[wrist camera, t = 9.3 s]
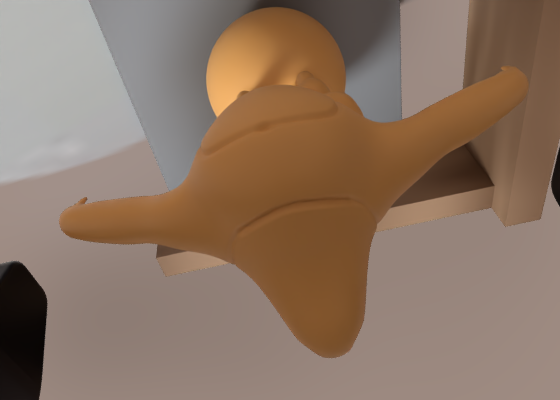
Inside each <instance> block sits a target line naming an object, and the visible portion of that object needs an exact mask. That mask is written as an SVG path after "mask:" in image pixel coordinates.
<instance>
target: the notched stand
mask: <svg viewBox="0 0 560 400" xmlns="http://www.w3.org/2000/svg"><path fill="white" fill-rule="evenodd" d="M89 2H90V5H91V7H92V9H93V12H94V14H95V16H96V19H97V21H98V24H99V26H100V28H101V31H102V33H103V35H104V38H105V40H106V42H107V45H108V47H109V50H110V52H111V54H112V57H113V59H114V61H115V64H116V66H117V69H118V71H119V73H120V76H121V78H122V80H123V83H124V85H125V87H126V90H127V92H128V95H129V97H130V99H131V102H132V104H133V106H134V109H135V111H136V114H137V116H138V118H139V121H140V123H141V125H142V128H143V130H144V132H145V135H146V137H147V140H148V142H149V144H150V147H151V149H152V151H153V154H154V156H155V159H156V161H157V163H158V165H159V168H160V170H161V173H162V175H163V177H164V180H165V182H166V184H167V187H168V189H169V191H171V190H173V189H175V188H177V187H178V186H179V185H181V184H182V183H183V182H184V180H185V179H186V177H187V176H188V174H189V171H190V169H191V166H192V163H193V161H194V158H195V155H196V153H197V151H198V149H199V148H200V147H201V142H202V140H203V138H204V136H205V134H206V133H207V131H208V129H209V128H210V127H211V125H212V124H213V122H214V121H215V120H216V119H217V116H216V115H215V113H214V111H213V109H212V106H211V104H210V101H209V97H208V92H207V85H206V73H207V66H208V61H209V57H210V54H211V52H212V49H213V47H214V45H215V43H216V41H217V40H218V38H219V37H220V35H221V34H222V33H223V32H224V30H225V29H226V28H227V27H228V26H229V25H230V24H232V23H233V22H234V21H235V20H237V19H238V18H240V17H242V16H243V15H245V14H247V13H249V12H252V11H255V10H258V9H262V8H269V7H283V8H290V9H294V10H297V11H300V12H303V13H305V14H307V15H309V16H311V17H312V18H314V19H315V20H317V21H318V22H319V23H320V24H322V25H323V26H324V27H325V28H326V29H327V30H328V32H329V33H330V34H331V35H332V37H333V38H334V40H335V41H336V43H337V45H338V47H339V49H340V51H341V54H342V57H343V60H344V64H345V71H346V88H345V93H346V94H348V95H349V96H350V97H352V98H353V100H354V101H355V102H356V104H357V105H358V106H359V108H360V110H361V111H362V113H363V116H364V117H365V118H367V119H369V120H371V121H375V122H381V123H386V122H394V121H399V120H402V115H401V114H402V113H401V112H402V108H401V47H400V0H89ZM502 66H511V67H516V68H518V69H519V70H520V71H521V72H523V73H524V74H525V76H526V77H527V79H528V83H529V88H528V92H527V95H526V96H525V98H524V99H523V101H522V102H521V103H520V104H518V105H517V106H516V107H514V108H513V109H512V110H511V111H510V112H509V113H508V114H507V115H505V116H504V117H503V118H501V119H500V120H499V121H498V122H496V123H495V124H494V125H492V126H491V127H490V128H488V129H487V130H485V131H484V132H483V133H481V134H480V135H478V136H477V137H475V138H474V139H472V140H471V141H469V142H468V143H466V144H464V145H462V146H460V147H459V148H457V149H455V150H453V151H451V152H449V153H448V154H446V155H445V156H443V157H442V158H441V159H440V160H439V161H438V162H436V163H435V164H434V165H433V166H432V167H431V168H430V169H429V170H428V171H427V172H426V173H425V174H424V175H423V176H422V177H421V178H420V179H419V180H418V181H416V182H415V183H414V184H413V185H412V186H411V187H410V188H409V189H407V190H406V191H405V192H404V193H403V194H402V195H401V196H400V197H399V198H398V199H397V200H396V201H395V202H394V204H393V205H392V206H391V207H390V209H389V210H388V211H387V213H386V214H385V216H384V217H383V218H382V220H381V221H380V222H379V223H378V224H377V229H376V231H375V232H379V231H384V230H389V229H393V228H398V227H402V226H408V225H412V224H417V223H421V222H426V221H431V220H436V219H441V218H445V217H450V216H454V215H459V214H464V213H469V212H474V211H478V210H483V209H488V208H492V209H493V210H494V212H495V213H496V214H497V216H498V217H499V218H500V220H501V221H502V223H503V224H504V226H505V227H506V226H511V225H516V224H520V223H525V222H530V221H535V220H539V219H541V214H542V211H543V206H544V202H545V198H546V193H547V189H548V185H549V181H550V177H551V172H552V168H553V164H554V160H555V155H556V151H557V147H558V143H559V139H560V0H470V2H469V15H468V28H467V41H466V54H465V68H464V82H463V89H464V88H467V87H469V86H471V85H473V84H475V83H478V82H480V81H483V80H485V79H488V78H490V77H493V76H495V75H496V74H498V73H499V72H501V71H504V70H502V69H501V67H502ZM156 259H157V260H158V263H159V264H160V266H161V268H162V270H163V272H164V274H165V276H166V277H167V276H172V275H176V274H181V273H186V272H190V271H195V270H200V269H205V268H209V267H214V266H219V265H224V264H228V263H229V262H226V261H224V260H222V259H219V258H217V257H214V256H210V255H206V254H202V253H197V252H191V251H185V250H180V249H175V248H171V247H167V246H163V245H158V246H157V256H156Z"/></svg>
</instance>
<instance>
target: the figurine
mask: <svg viewBox="0 0 560 400" xmlns="http://www.w3.org/2000/svg"><path fill="white" fill-rule="evenodd" d="M501 69H502V70H504V71H501V72H499V73H498V74H496V75H495V76H493V77H490V78H488V79H485V80H483V81H480V82H478V83H475V84H473V85H471V86H469V87H467V88H464V89H462V90H460V91H458V92H457V93H455V94H453V95H450V96H448V97H446V98H444V99H443V100H441V101H439V102H437V103H435V104H433V105H431V106H429V107H427V108H425V109H424V110H422V111H420V112H419V113H417V114H415V115H413V116H411V117H409V118H406V119H403V120H399V121H394V122H386V123H381V122H375V121H371V120H369V119H367V118H365V117H364V116H363V113H362V111H361V110H360V108H359V106H358V105H357V104H356V102H355V101H354V100H353V98H352V97H350V96H349V95H348V94H346V93H345V88H346V71H345V64H344V60H343V57H342V54H341V51H340V49H339V47H338V45H337V43H336V41H335V40H334V38H333V37H332V35H331V34H330V33H329V32H328V30H327V29H326V28H325V27H324V26H323V25H322V24H320V23H319V22H318V21H317V20H315V19H314V18H312V17H311V16H309V15H307V14H305V13H303V12H300V11H297V10H294V9H290V8H283V7H269V8H262V9H258V10H255V11H252V12H249V13H247V14H245V15H243V16H242V17H240V18H238V19H237V20H235V21H234V22H233V23H232V24H230V25H229V26H228V27H227V28H226V29H225V30H224V32H223V33H222V34H221V35H220V37H219V38H218V40H217V41H216V43H215V45H214V47H213V49H212V52H211V54H210V57H209V61H208V66H207V73H206V85H207V92H208V97H209V101H210V104H211V106H212V109H213V111H214V113H215V115H216V116H217V119H216V120H215V121H214V122H213V124H212V125H211V127H210V128H209V129H208V131H207V133H206V134H205V136H204V138H203V140H202V142H201V147H200V148H199V149H198V151H197V153H196V155H195V158H194V161H193V163H192V166H191V169H190V171H189V174H188V176H187V177H186V179H185V180H184V182H183V183H182V184H181V185H179V186H178V187H177V188H175V189H173V190H171V191H169V192H166V193H164V194H160V195H155V196H139V197H130V198H121V199H113V200H105V201H98V202H93V203H89V204H84V203H85V202H86V200H87V197H85V198H83V199H81V200H80V201H79V202H78V203H76V204H75V205H73V206H71V207H68V208H67V209H65V210H64V211H63V212H62V214H61V216H60V219H59V224H60V227H61V230H62V231H63V232H64V233H65V234H66V235H68V236H69V237H71V238H75V239H80V240H83V241H90V242H98V243H109V244H143V243H152V244H158V245H163V246H167V247H171V248H175V249H180V250H185V251H191V252H197V253H202V254H206V255H210V256H214V257H217V258H219V259H222V260H224V261H226V262H229V263H231V264H236V266H237V267H238V268H239V269H241V270H242V271H243V272H245V273H246V274H247V275H248V276H249V277H250V278H252V279H253V281H254V282H255V283H256V284H257V285H258V286H259V287H260V289H261V290H262V291H263V292H264V294H265V295H266V296H267V297H268V299H269V300H270V302H271V303H272V304H273V306H274V307H275V309H276V310H277V312H278V313H279V314H280V316H281V317H282V319H283V320H284V322H285V323H286V324H287V326H288V327H289V329H290V330H291V332H292V333H293V334H294V336H295V337H296V338H297V339H298V340H299V341H300V342H301V343H302V344H304V345H305V346H306V347H308V348H309V349H310V350H312V351H313V352H315V353H316V354H318V355H319V356H322V357H325V358H336V357H340V356H342V355H344V354H346V353H347V352H348V351H349V350H350V349H351V348H352V346H353V344H354V342H355V340H356V338H357V336H358V333H359V331H360V329H361V327H362V324H363V321H364V314H365V304H366V286H367V269H368V260H369V252H370V247H371V242H372V239H373V236H374V233H375V231H376V229H377V224H378V223H379V222H380V221H381V220H382V218H383V217H384V216H385V214H386V213H387V211H388V210H389V209H390V207H391V206H392V205H393V204H394V202H395V201H396V200H397V199H398V198H399V197H400V196H401V195H402V194H403V193H404V192H405V191H406V190H407V189H409V188H410V187H411V186H412V185H413V184H414V183H415V182H416V181H418V180H419V179H420V178H421V177H422V176H423V175H424V174H425V173H426V172H427V171H428V170H429V169H430V168H431V167H432V166H433V165H434V164H435V163H436V162H438V161H439V160H440V159H441V158H442V157H443V156H445V155H446V154H448V153H449V152H451V151H453V150H455V149H457V148H459V147H460V146H462V145H464V144H466V143H468V142H469V141H471V140H472V139H474V138H475V137H477V136H478V135H480V134H481V133H483V132H484V131H485V130H487V129H488V128H490V127H491V126H492V125H494V124H495V123H496V122H498V121H499V120H500V119H501V118H503V117H504V116H505V115H507V114H508V113H509V112H510V111H511V110H512V109H513V108H514V107H516V106H517V105H518V104H520V103H521V102H522V101H523V99H524V98H525V96H526V95H527V92H528V88H529V83H528V79H527V77H526V76H525V74H524V73H523V72H521V71H520V70H519V69H518V68H516V67H511V66H502V67H501Z"/></svg>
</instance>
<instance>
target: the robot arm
mask: <svg viewBox="0 0 560 400" xmlns="http://www.w3.org/2000/svg"><path fill="white" fill-rule="evenodd" d="M551 187H552V192H553V195H554V197H555V199H556V201H557V203H558V205H559V206H560V148H559V152H558V155H557V159H556V164H555V168H554V172H553V176H552V181H551ZM46 318H47V298H46V294H45V292H44V290H43V289H42V287H41V286H40V285H39V284H38V282H37V281H36V280H35V278H34V277H33V276H32V275H31V273H30V272H29V271H28V269H27V268H26V267H25V266H24V265H23V264H22V263H20V262H19V261H11V262H6V263H2V264H0V400H39V396H40V390H41V382H42V372H43V358H44V345H45V331H46Z"/></svg>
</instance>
